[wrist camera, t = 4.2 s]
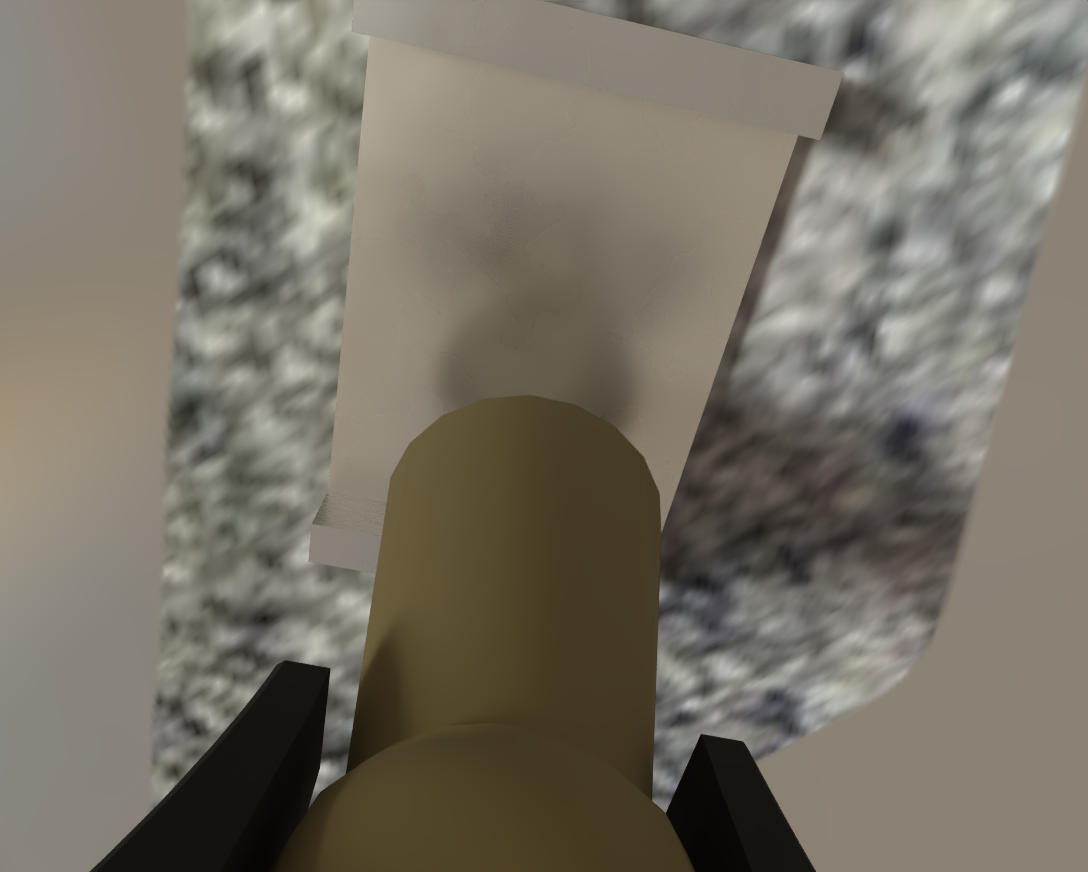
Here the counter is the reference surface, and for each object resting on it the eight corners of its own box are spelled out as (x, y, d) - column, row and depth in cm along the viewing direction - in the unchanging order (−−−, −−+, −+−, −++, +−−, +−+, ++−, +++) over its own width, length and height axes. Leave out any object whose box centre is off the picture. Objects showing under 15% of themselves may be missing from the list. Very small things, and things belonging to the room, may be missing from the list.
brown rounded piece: (380, 385, 16) (65, 934, 6) (678, 403, 16) (870, 983, 6) (389, 624, 18) (182, 1283, 8) (646, 639, 18) (739, 1315, 8)
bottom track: (641, 576, 23) (647, 624, 21) (329, 517, 22) (308, 561, 20) (814, 66, 16) (844, 72, 14) (382, -37, 16) (357, -44, 14)
